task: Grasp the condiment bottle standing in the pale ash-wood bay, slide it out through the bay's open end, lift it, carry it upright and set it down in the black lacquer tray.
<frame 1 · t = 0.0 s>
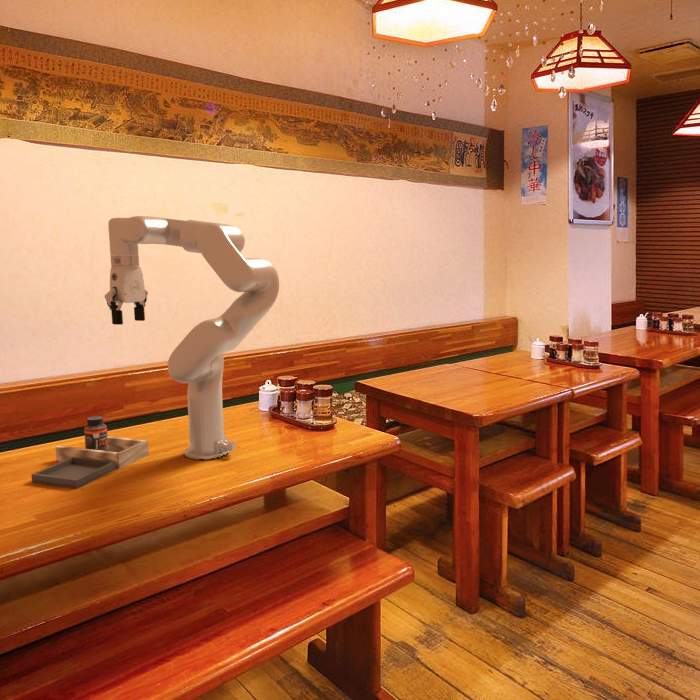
hand: (129, 322, 177), 37 cm above the table, tool pointing down, fingers open, 9 cm apart
bay: (103, 457, 173), on the table
supplement bottle: (97, 457, 173), resting in bay
tray: (75, 475, 158), on the table
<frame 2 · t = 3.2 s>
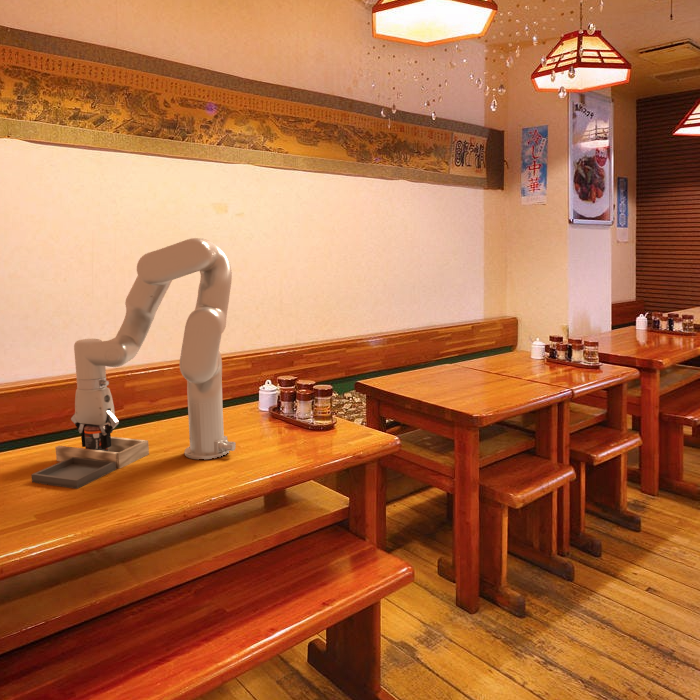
hand: (96, 446, 173), 3 cm above the table, tool pointing down, fingers closed on supplement bottle, 6 cm apart
supplement bottle: (97, 457, 173), resting in bay, touching gripper
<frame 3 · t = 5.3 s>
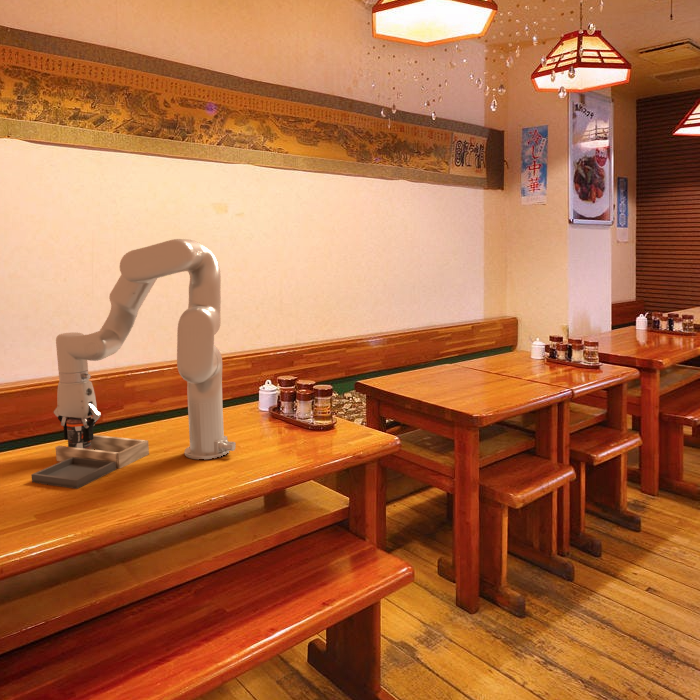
hand: (79, 439, 174), 5 cm above the table, tool pointing down, fingers closed on supplement bottle, 6 cm apart
supplement bottle: (80, 450, 175), point 1 cm above the table, touching gripper
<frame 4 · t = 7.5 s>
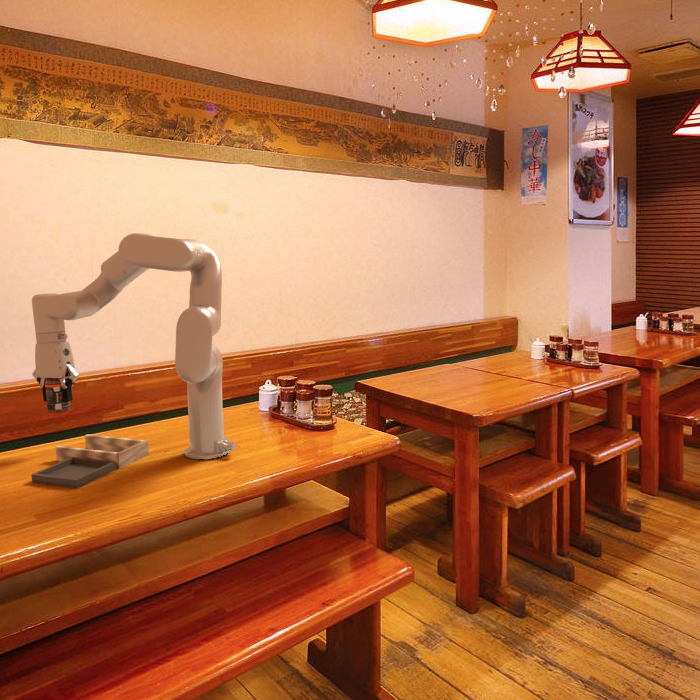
hand: (58, 400, 175), 15 cm above the table, tool pointing down, fingers closed on supplement bottle, 6 cm apart
supplement bottle: (59, 411, 175), point 12 cm above the table, touching gripper
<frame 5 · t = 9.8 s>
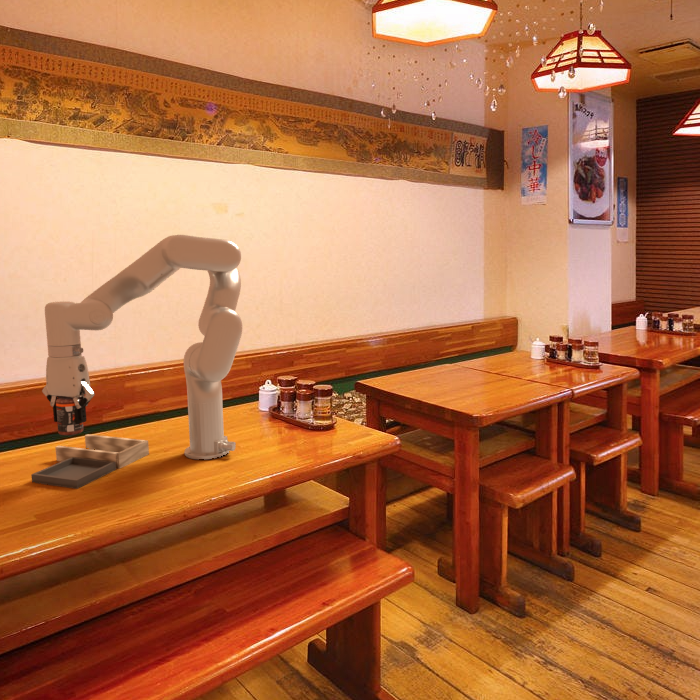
hand: (70, 421, 156), 15 cm above the table, tool pointing down, fingers closed on supplement bottle, 6 cm apart
supplement bottle: (71, 433, 157), point 11 cm above the table, touching gripper
when the fingers open (4 cm above the table, at t = 11.9 s): supplement bottle stays where it is, resting on tray.
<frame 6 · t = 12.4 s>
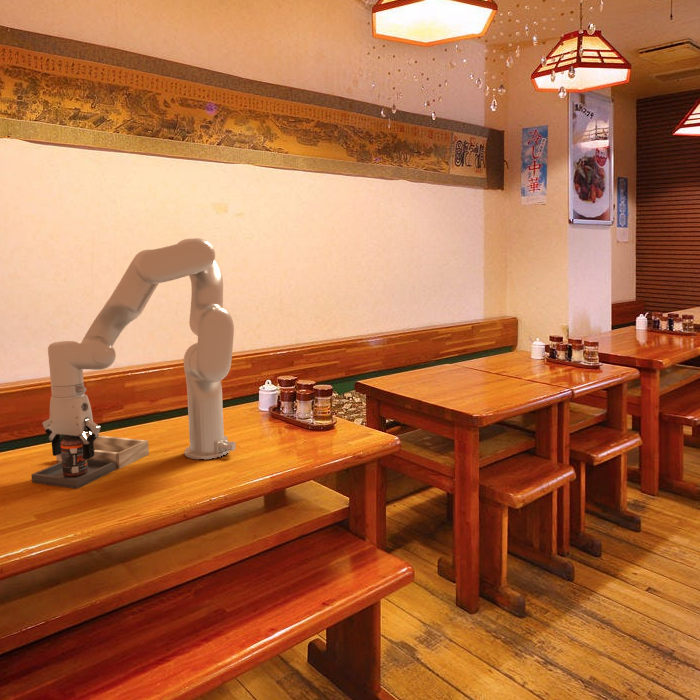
hand: (73, 455, 158), 5 cm above the table, tool pointing down, fingers open, 9 cm apart
supplement bottle: (75, 474, 158), resting on tray
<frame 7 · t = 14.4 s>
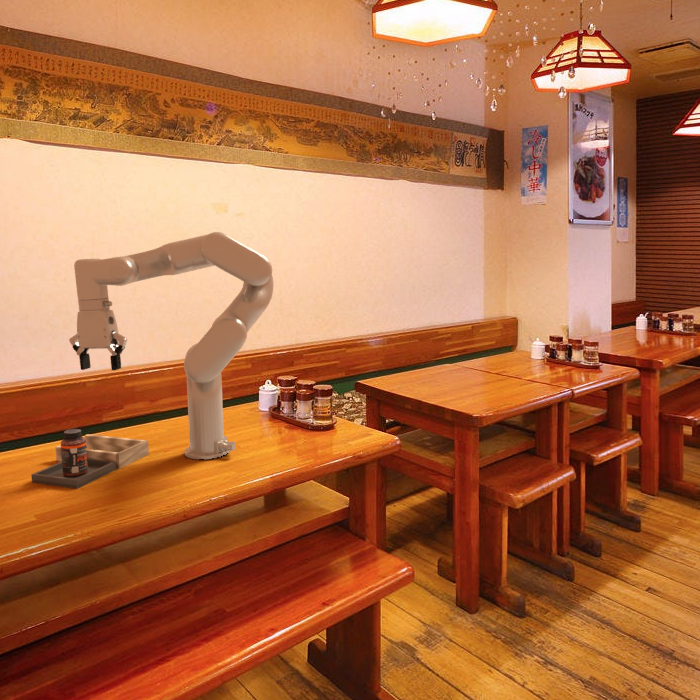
hand: (101, 369, 166), 26 cm above the table, tool pointing down, fingers open, 9 cm apart
nothing on the table moved.
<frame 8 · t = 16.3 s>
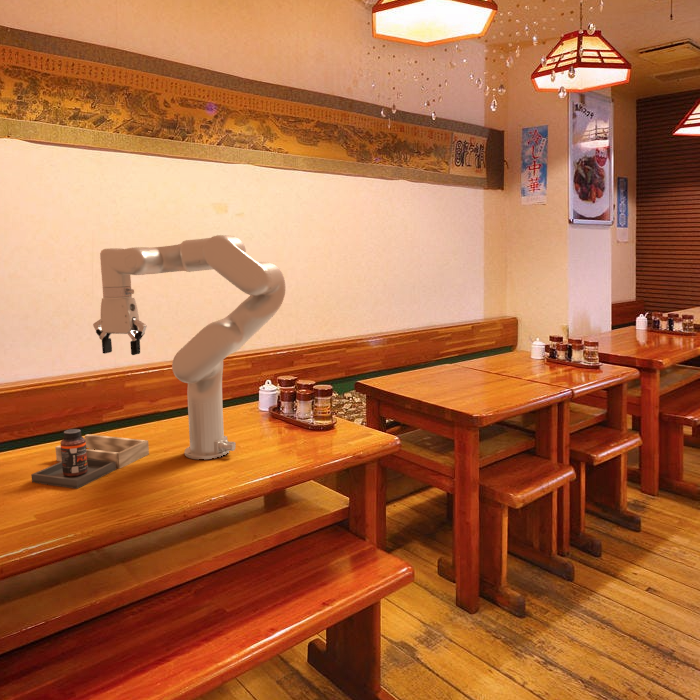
hand: (121, 353, 175), 28 cm above the table, tool pointing down, fingers open, 9 cm apart
nothing on the table moved.
at the end: supplement bottle inside the target area on the tray (0.1 cm from its centre), point 0.4 cm above the tray's base; supplement bottle tilted 0°; the gripper is holding nothing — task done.
